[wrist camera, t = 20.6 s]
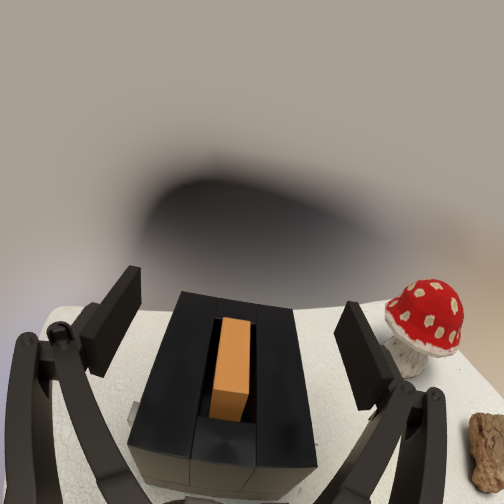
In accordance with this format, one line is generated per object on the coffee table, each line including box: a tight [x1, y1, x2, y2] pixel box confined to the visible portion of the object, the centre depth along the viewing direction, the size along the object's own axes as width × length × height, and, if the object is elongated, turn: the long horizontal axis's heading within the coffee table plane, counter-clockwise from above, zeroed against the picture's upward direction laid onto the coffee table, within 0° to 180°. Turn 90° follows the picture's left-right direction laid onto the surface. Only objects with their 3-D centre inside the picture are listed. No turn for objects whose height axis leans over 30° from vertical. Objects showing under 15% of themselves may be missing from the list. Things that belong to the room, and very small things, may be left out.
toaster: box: [127, 291, 318, 500], centre depth 23 cm, size 13×18×10 cm
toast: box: [208, 317, 250, 422], centre depth 22 cm, size 2×8×8 cm, turn 179°
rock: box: [469, 413, 504, 493], centre depth 17 cm, size 13×11×5 cm
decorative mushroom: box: [384, 279, 464, 378], centre depth 34 cm, size 14×14×15 cm
